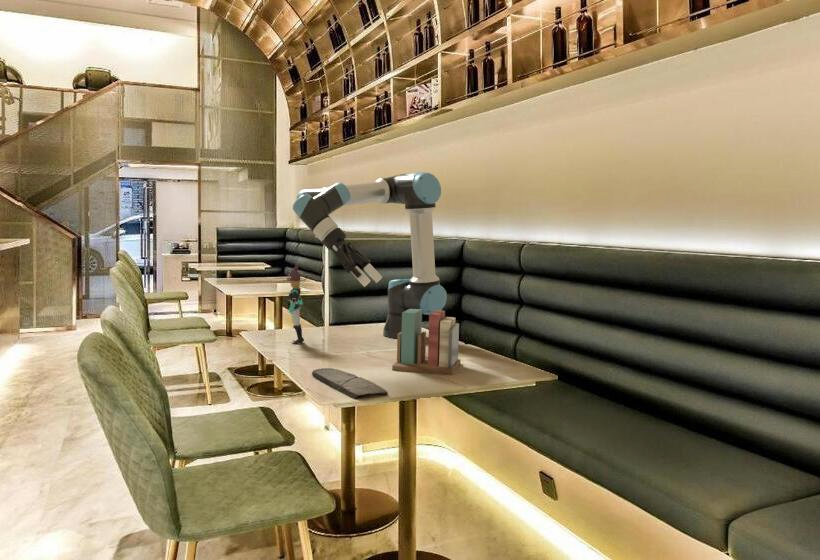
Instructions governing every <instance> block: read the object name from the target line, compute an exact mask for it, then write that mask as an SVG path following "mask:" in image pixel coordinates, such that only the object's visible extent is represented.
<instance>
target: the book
mask: <svg viewBox="0 0 820 560" xmlns="http://www.w3.org/2000/svg"><path fill="white" fill-rule="evenodd" d="M422 321H423V314H422V309H408V310H406V311H404V312H402V338H401V364H412V365H414V364H415V363H416V362H417V355H418V335H419V334H421V333H422V327H423V326H422V325H423V324H422V323H423V322H422Z"/></svg>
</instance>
